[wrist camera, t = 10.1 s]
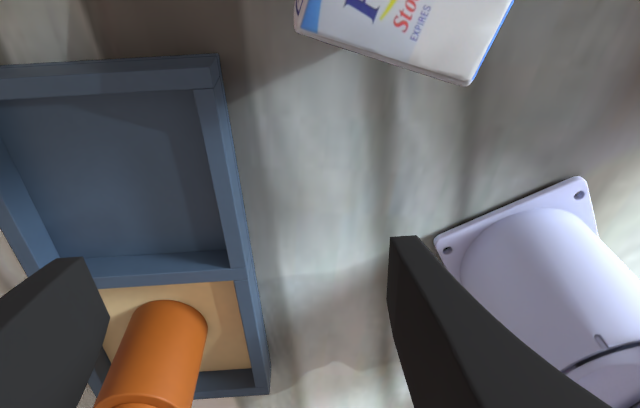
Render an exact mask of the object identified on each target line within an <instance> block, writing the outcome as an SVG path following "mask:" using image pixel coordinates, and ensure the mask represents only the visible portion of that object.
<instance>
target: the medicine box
mask: <svg viewBox="0 0 640 408" xmlns="http://www.w3.org/2000/svg"><path fill="white" fill-rule="evenodd" d="M513 2H514V0H295V3H294V10H293V13H294V16H293V17H294V28H295V31H296V32H297V33H298V34H302V35H305V36H308V37H311V38H314V39H316V40H319V41H322V42H325V43H328V44H331V45H334V46H337V47H340V48H343V49H346V50H349V51H353V52H356V53H359V54H362V55H365V56H368V57H371V58H374V59H377V60H380V61H383V62H386V63H389V64H392V65H395V66H398V67H401V68H404V69H408V70H411V71H414V72H417V73H420V74H424V75H427V76H430V77H433V78H436V79H439V80H442V81H445V82H448V83H452V84H455V85H458V86H463V87H466V86H468V85H470V83H471V82H472V81H473V80H474V78H475V76H476V74H477V72H478V70H479V68H480V66H481V64H482V62H483V60H484V58H485V56H486V54H487V52H488V50H489V49H490V47H491V45H492V43H493V41H494V39H495V37H496V35H497V33H498V31H499V29H500V28H501V26H502V24H503V22H504V20H505V18H506V16H507V14H508V12H509V10H510V8H511V6H512V4H513Z"/></svg>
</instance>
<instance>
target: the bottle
mask: <svg viewBox="0 0 640 408" xmlns="http://www.w3.org/2000/svg"><path fill="white" fill-rule="evenodd" d="M207 333H208V325H207V322H206V320H205V318H204V317H203V315H202V314H201V313H200V312H199V311H198V310H196V309H195V308H193V307H192V306H190V305H187V304H185V303H182V302H179V301H174V300H155V301H151V302H148V303H145V304H143V305H142V306H140V307H139V308H137V309H136V310H135V312H134V313H133V315H132V317H131V319H130V322H129V324H128V326H127V329H126V331H125V333H124V336H123V338H122V340H121V343H120V345H119V347H118V350H117V352H116V354H115V357H114V359H113V362H112V364H111V366H110V369H109V371H108V373H107V376H106V378H105V380H104V383H103V385H102V387H101V390H100V392H99V395H98V397H97V399H96V402H95V404H94V406H93V408H191V406H192V402H193V397H194V393H195V388H196V384H197V379H198V374H199V370H200V365H201V361H202V356H203V352H204V347H205V343H206V338H207Z"/></svg>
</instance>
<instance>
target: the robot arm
mask: <svg viewBox="0 0 640 408" xmlns="http://www.w3.org/2000/svg"><path fill="white" fill-rule="evenodd" d="M579 191H580V192H579ZM577 192H579V194H577V195H575V194H576V193H577ZM574 195H575V196H574ZM433 242H434V245H435V248H436V250H437V252H438V254H439V256H440V258H441V260H442V262H443V264H444V266H445V267H446V268H445V267H444V266H443V265H442V263H441V262H440V261H439V260H438V259H437V258H436V257H435V256H434V255H433V253H432V252H431V251H430V250H429V249H428V248H427V247H426V245H425V244H424V243H423V242H422V241H421V240H420V239H419V238H418V237H417V236H416V235H415V236H399V237H390V248H389V265H388V282H387V298H386V300H387V305H388V311H389V317H390V323H391V328H392V333H393V338H394V342H395V345H396V349H397V352H398V355H399V359H400V362H401V365H402V369H403V372H404V375H405V379H406V382H407V385H408V389H409V392H410V395H411V398H412V402H413V405H414V408H640V280H639V278H638V277H637V276H636V275H635V274H634V273H633V272H632V271H631V270H630V269H629V268H628V267H627V266H626V265H625V264H624V263H623V262H622V261H621V260H620V259H619V258H618V257H617V256H616V255H615V254H614V253H613V252H612V251H611V250H610V249H609V248H608V247H607V246H606V245H605V244H604V243H603V242H602V241H601V240H600V239H599V235H598V231H597V226H596V221H595V217H594V212H593V208H592V203H591V198H590V194H589V189H588V185H587V182H586V180H584V179H583V178H582V177H580V176H574V177H571V178H569V179H566V180H564V181H562V182H560V183H557V184H555V185H553V186H550V187H548V188H546V189H543V190H541V191H539V192H536V193H534V194H532V195H529V196H527V197H525V198H522V199H520V200H518V201H515V202H513V203H511V204H508V205H506V206H504V207H502V208H499V209H497V210H495V211H492V212H490V213H488V214H485V215H483V216H481V217H478V218H476V219H474V220H471V221H469V222H467V223H464V224H462V225H460V226H457V227H455V228H453V229H450V230H448V231H446V232H444V233H441V234H439V235H437V236H436V237H435V239H434V241H433ZM446 247H450V248H449V249H447V250H444V249H445V248H446ZM109 321H110V315H109V313H108V311H107V309H106V306H105V304H104V302H103V300H102V298H101V295H100V293H99V291H98V289H97V287H96V284H95V282H94V280H93V278H92V276H91V273H90V271H89V269H88V267H87V265H86V262H85V260H84V258H83V256H82V257H66V258H56V259H54V260H53V261H51V262H50V263H48V264H47V265H45V266H44V267H42V268H41V269H39V270H38V271H37V272H35V273H34V274H32V275H31V276H30V277H28V278H27V279H25V280H24V281H23V282H21V283H20V284H19V285H17V286H16V287H15V288H13V289H12V290H11V291H9V292H8V293H6V294H5V295H4V296H2V297H1V298H0V408H76V407H77V405H78V403H79V401H80V398H81V396H82V394H83V392H84V390H85V387H86V385H87V383H88V381H89V378H90V376H91V374H92V372H93V369H94V367H95V365H96V362H97V360H98V358H99V355H100V352H101V348H102V345H103V342H104V339H105V335H106V332H107V328H108V324H109Z"/></svg>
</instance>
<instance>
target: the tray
mask: <svg viewBox="0 0 640 408" xmlns="http://www.w3.org/2000/svg"><path fill="white" fill-rule="evenodd" d="M0 229H1V230H2V232H3V234H4V236H5V237H6V239H7V241H8V243H9V244H10V246H11V248H12V250H13V252H14V253H15V255H16V257H17V259H18V260H19V262H20V264H21V266H22V267H23V269H24V271H25V273H26V275H27V276H28V277H30V276H31V275H32V274H34V273H35V272H37V271H38V270H39V269H41V268H42V267H44V266H45V265H47V264H48V263H50V262H51V261H53V260H54V259H56V258H66V257H82V256H83V258H84V260H85V262H86V265H87V267H88V269H89V271H90V273H91V276H92V278H93V280H94V282H95V284H96V287H97V289H98V291H99V293H100V295H101V298H102V300H103V302H104V304H105V306H106V309H107V311H108V313H109V315H110V321H109V324H108V328H107V332H106V335H105V339H104V342H103V345H102V348H101V352H100V355H99V358H98V360H97V362H96V365H95V367H94V369H93V372H92V374H91V376H90V378H89V381H88V384H89V386H90V387H91V389H92V391H93V393H94V394H95V396H96V398H97V397H98V395H99V392H100V390H101V387H102V385H103V383H104V380H105V378H106V376H107V373H108V371H109V369H110V366H111V364H112V362H113V359H114V357H115V354H116V352H117V350H118V347H119V345H120V343H121V340H122V338H123V336H124V333H125V331H126V329H127V326H128V324H129V322H130V319H131V317H132V315H133V313H134V312H135V310H136V309H137V308H139V307H140V306H142V305H143V304H145V303H148V302H151V301H155V300H174V301H179V302H182V303H185V304H187V305H190V306H192V307H193V308H195V309H196V310H198V311H199V312H200V313H201V314H202V315H203V317H204V318H205V320H206V322H207V325H208V333H207V338H206V343H205V347H204V352H203V356H202V361H201V365H200V370H199V374H198V379H197V384H196V388H195V393H194V397H193V400H194V399H209V398H224V397H238V396H253V395H267V394H269V393H270V378H271V362H270V356H269V350H268V344H267V339H266V333H265V327H264V321H263V315H262V309H261V303H260V297H259V291H258V285H257V279H256V273H255V267H254V262H253V256H252V250H251V244H250V238H249V232H248V226H247V220H246V214H245V208H244V202H243V196H242V191H241V185H240V179H239V173H238V167H237V161H236V155H235V149H234V143H233V137H232V131H231V125H230V120H229V114H228V108H227V102H226V96H225V90H224V84H223V78H222V72H221V66H220V60H219V55H218V54H217V53H213V54H195V55H177V56H159V57H141V58H124V59H106V60H88V61H70V62H52V63H34V64H16V65H0Z"/></svg>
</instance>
